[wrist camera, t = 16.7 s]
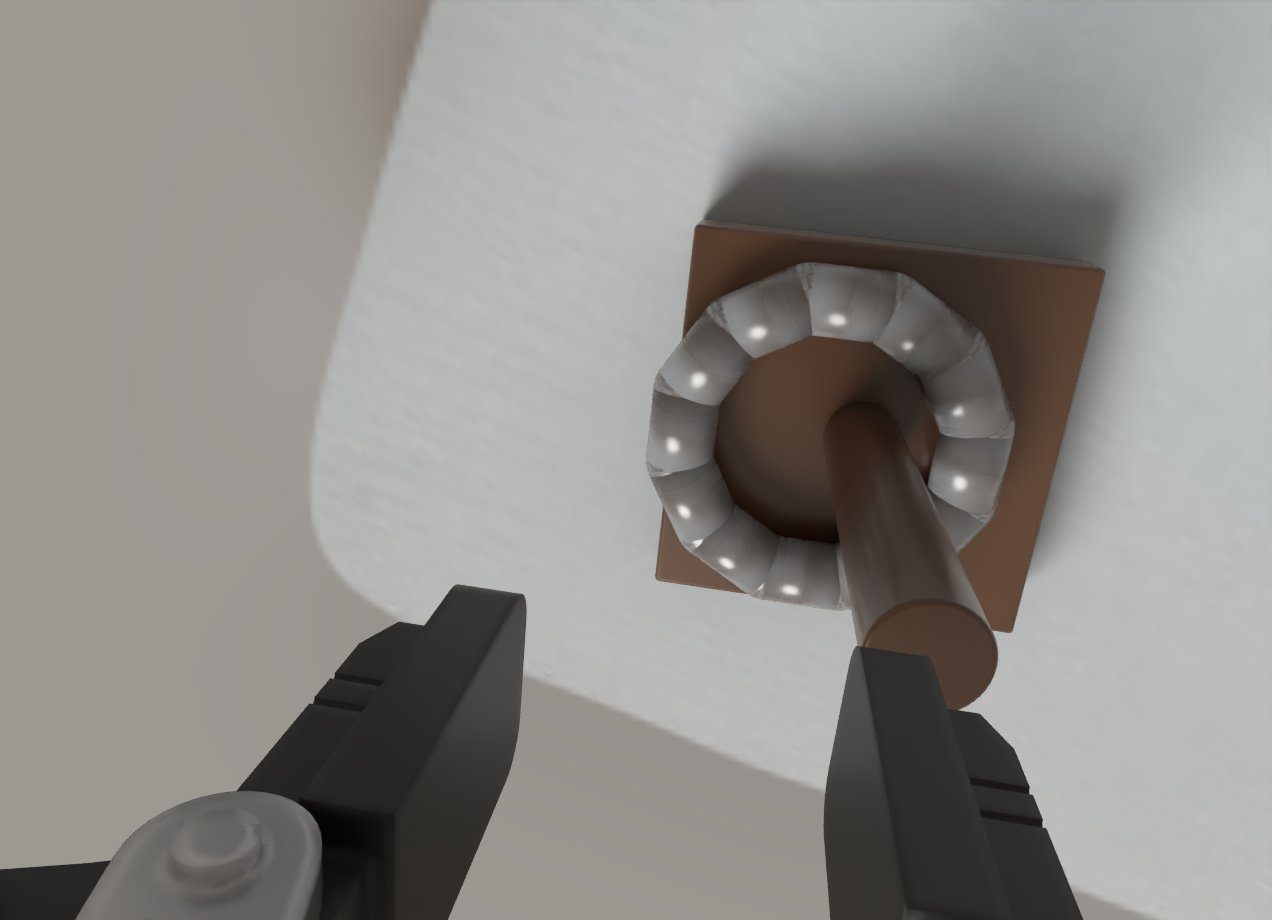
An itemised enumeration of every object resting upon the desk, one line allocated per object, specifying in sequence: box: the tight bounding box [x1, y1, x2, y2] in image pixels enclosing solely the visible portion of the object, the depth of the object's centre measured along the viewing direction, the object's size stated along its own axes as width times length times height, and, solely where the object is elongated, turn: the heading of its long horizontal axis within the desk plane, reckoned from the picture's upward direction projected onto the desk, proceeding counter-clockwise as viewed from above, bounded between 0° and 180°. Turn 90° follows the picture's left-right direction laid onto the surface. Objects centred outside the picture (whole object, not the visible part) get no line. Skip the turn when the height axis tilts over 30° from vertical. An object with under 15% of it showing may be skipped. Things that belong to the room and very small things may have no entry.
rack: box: [655, 220, 1105, 710], centre depth 16 cm, size 8×8×10 cm
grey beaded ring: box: [646, 262, 1015, 611], centre depth 19 cm, size 7×7×1 cm
